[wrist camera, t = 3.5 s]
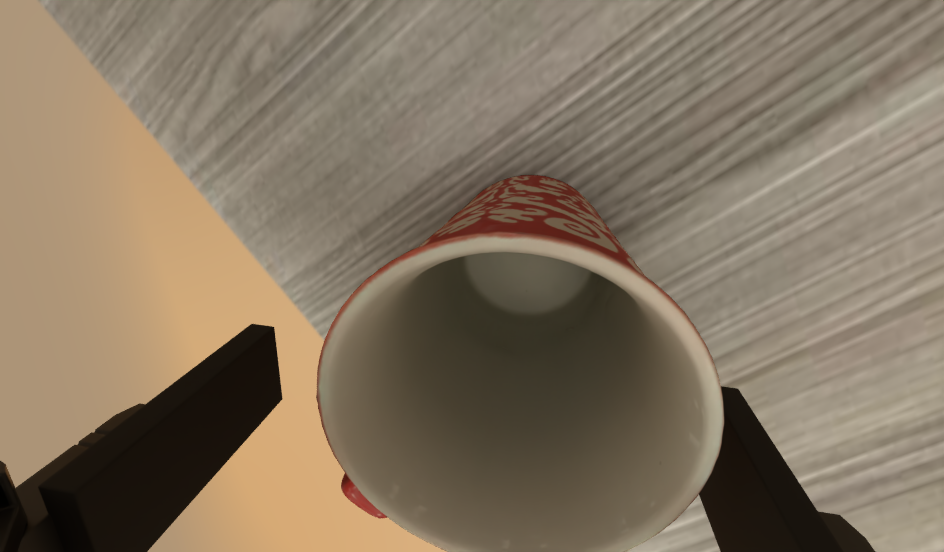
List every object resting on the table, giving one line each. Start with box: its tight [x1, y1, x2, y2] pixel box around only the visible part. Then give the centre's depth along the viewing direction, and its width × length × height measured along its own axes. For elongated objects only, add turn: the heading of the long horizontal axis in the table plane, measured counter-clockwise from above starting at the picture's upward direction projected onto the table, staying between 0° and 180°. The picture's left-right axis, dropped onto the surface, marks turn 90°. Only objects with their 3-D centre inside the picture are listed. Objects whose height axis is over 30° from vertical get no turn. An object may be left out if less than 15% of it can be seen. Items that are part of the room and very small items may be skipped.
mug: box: [316, 175, 724, 552], centre depth 17 cm, size 13×9×14 cm
